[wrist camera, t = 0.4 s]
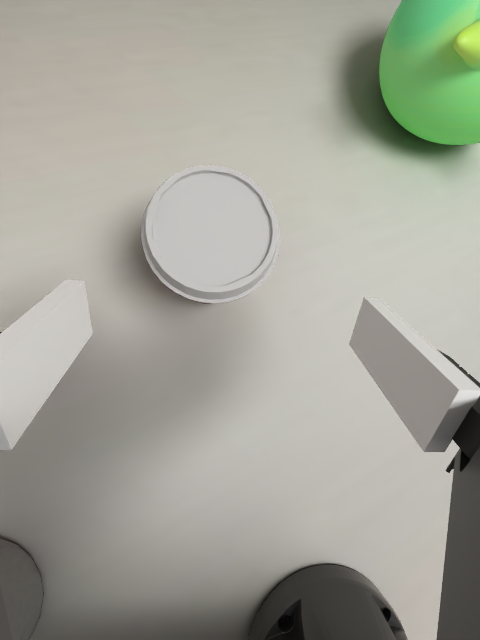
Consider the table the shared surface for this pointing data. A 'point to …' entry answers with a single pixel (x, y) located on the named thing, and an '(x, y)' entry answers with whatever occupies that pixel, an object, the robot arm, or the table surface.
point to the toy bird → (434, 69)
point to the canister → (20, 589)
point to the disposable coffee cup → (210, 234)
